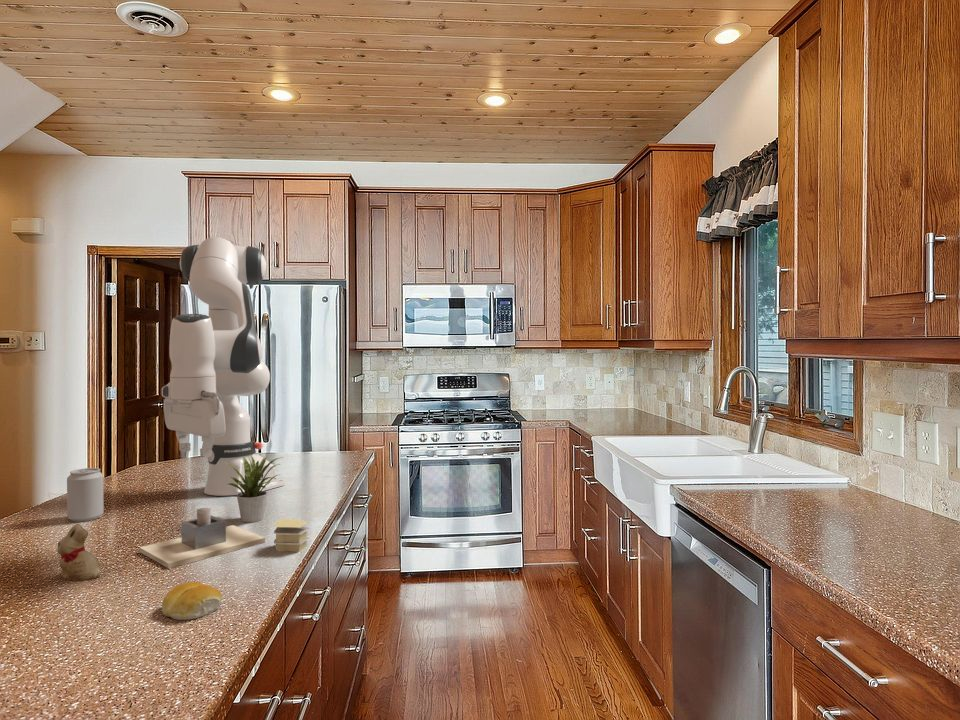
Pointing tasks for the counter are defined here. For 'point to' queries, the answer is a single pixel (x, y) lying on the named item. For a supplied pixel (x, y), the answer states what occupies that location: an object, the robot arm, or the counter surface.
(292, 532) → the stacked food containers
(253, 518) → the house plant
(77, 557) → the chocolate bunny
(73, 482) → the can
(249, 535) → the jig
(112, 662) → the counter surface
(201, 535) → the hollow square tube
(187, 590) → the bread roll
